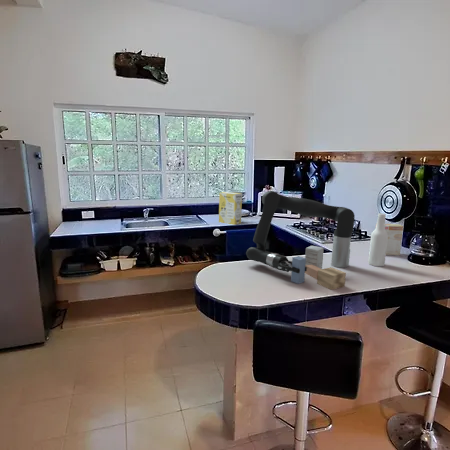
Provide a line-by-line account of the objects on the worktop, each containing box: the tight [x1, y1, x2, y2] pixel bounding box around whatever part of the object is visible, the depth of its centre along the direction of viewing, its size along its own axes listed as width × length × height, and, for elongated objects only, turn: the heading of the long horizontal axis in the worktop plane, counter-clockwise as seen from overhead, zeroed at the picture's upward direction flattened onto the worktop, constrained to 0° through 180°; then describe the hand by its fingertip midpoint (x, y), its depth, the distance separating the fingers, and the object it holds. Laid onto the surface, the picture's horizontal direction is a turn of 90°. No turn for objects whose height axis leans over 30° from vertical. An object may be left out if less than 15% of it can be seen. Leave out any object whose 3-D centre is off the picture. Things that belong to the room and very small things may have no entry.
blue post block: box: [290, 255, 306, 284], centre depth 162 cm, size 4×4×12 cm
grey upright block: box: [304, 245, 325, 269], centre depth 180 cm, size 7×7×13 cm
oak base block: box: [316, 267, 347, 291], centre depth 159 cm, size 9×9×7 cm
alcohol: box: [367, 212, 388, 268], centre depth 192 cm, size 9×9×30 cm
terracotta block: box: [305, 265, 321, 280], centre depth 172 cm, size 10×4×4 cm, turn 23°
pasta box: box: [218, 191, 243, 226], centre depth 310 cm, size 18×10×28 cm, turn 53°
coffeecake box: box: [374, 223, 404, 257], centre depth 217 cm, size 15×7×20 cm, turn 84°
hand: (302, 270), depth 160 cm, fingers closed on blue post block, 4 cm apart
